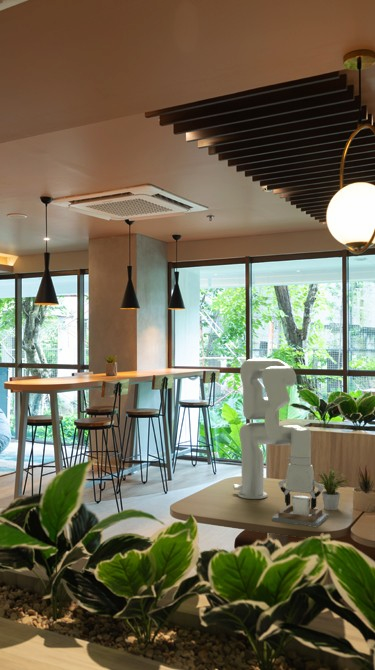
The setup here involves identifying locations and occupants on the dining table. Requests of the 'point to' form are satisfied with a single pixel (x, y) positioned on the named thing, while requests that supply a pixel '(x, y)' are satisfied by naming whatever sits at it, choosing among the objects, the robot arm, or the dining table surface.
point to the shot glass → (301, 504)
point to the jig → (301, 516)
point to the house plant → (331, 490)
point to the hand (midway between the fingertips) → (300, 506)
